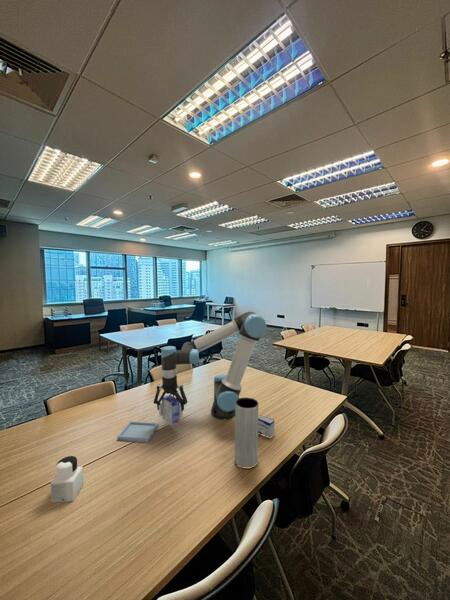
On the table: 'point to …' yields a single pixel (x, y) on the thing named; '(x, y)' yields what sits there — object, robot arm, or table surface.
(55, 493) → the container
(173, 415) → the ink cartridge box
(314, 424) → the table surface
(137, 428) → the tray
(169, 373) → the robot arm
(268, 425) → the box
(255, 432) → the vase
